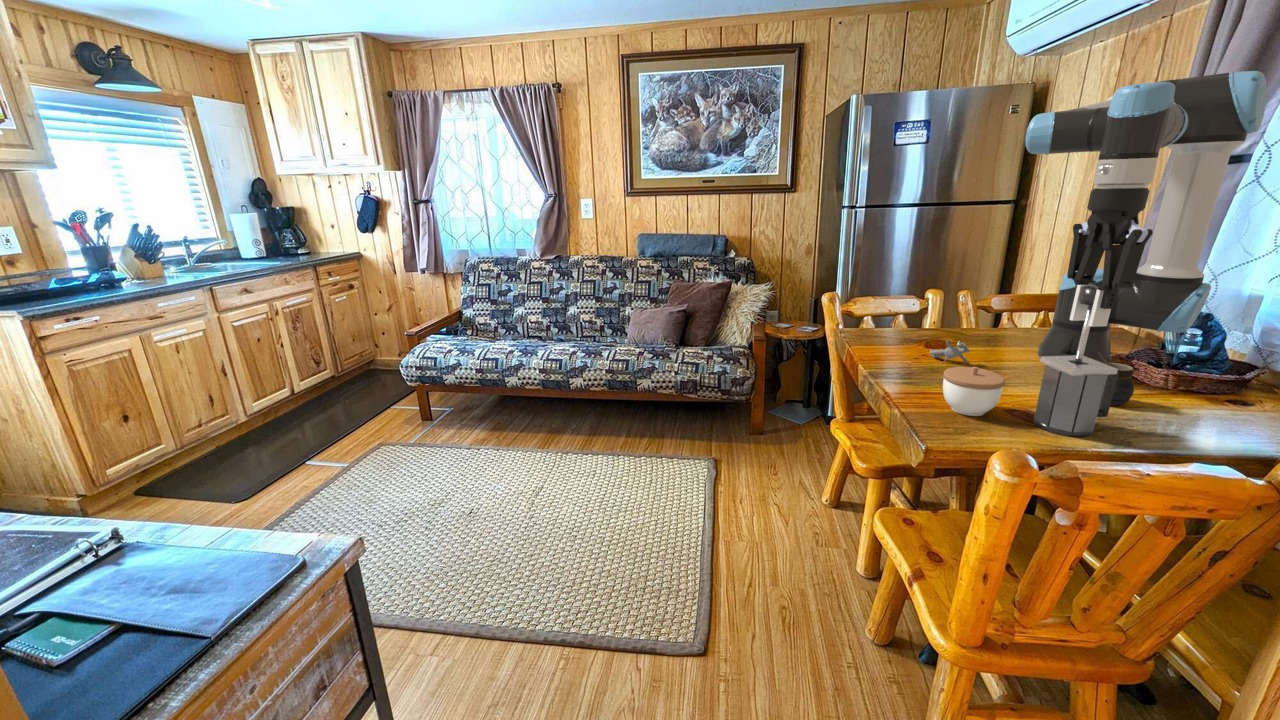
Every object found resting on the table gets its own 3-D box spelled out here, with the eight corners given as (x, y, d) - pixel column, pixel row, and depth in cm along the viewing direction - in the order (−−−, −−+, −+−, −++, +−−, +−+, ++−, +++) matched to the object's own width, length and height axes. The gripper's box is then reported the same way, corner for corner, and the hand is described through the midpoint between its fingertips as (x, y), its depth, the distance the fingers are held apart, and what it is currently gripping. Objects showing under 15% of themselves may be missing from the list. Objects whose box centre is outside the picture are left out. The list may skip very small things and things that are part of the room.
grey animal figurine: (944, 354, 148) (978, 350, 140) (939, 373, 146) (974, 370, 138) (923, 335, 144) (958, 330, 136) (918, 354, 142) (953, 350, 134)
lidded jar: (927, 401, 117) (934, 360, 115) (974, 399, 118) (982, 358, 115) (959, 422, 107) (967, 377, 104) (1010, 419, 108) (1020, 375, 105)
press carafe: (1082, 415, 109) (1098, 353, 105) (1122, 435, 100) (1141, 369, 96) (1022, 417, 109) (1035, 355, 105) (1057, 438, 100) (1073, 371, 96)
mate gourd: (1119, 411, 110) (1131, 364, 107) (1077, 399, 117) (1087, 355, 114) (1137, 404, 114) (1149, 358, 111) (1094, 393, 120) (1104, 349, 117)
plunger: (1075, 378, 104) (1098, 284, 99) (1099, 389, 99) (1125, 290, 93) (1047, 379, 104) (1068, 285, 99) (1069, 390, 99) (1093, 291, 93)
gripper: (1060, 186, 99) (1034, 312, 106) (1143, 187, 83) (1106, 336, 90) (1101, 185, 99) (1071, 311, 106) (1192, 186, 83) (1150, 334, 90)
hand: (1087, 322), depth 98 cm, fingers closed on plunger, 4 cm apart
